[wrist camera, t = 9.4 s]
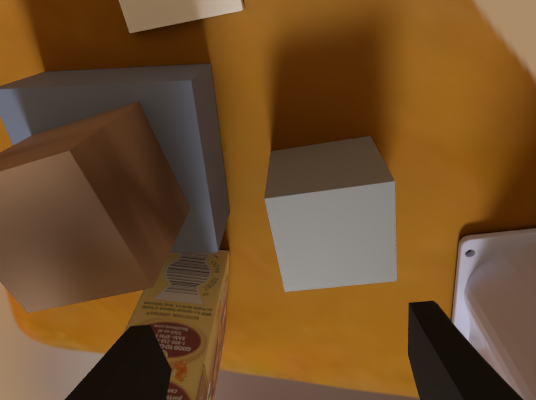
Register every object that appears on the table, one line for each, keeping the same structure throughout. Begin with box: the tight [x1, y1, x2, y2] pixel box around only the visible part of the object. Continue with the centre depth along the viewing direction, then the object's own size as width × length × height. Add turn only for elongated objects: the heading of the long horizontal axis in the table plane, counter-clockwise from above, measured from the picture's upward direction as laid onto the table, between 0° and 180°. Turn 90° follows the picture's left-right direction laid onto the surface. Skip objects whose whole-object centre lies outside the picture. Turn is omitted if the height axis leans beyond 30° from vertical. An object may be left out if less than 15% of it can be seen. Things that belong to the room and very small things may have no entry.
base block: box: [0, 63, 230, 253], centre depth 17 cm, size 8×8×4 cm
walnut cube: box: [0, 101, 190, 313], centre depth 13 cm, size 5×5×5 cm
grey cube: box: [264, 136, 397, 292], centre depth 17 cm, size 5×5×5 cm
